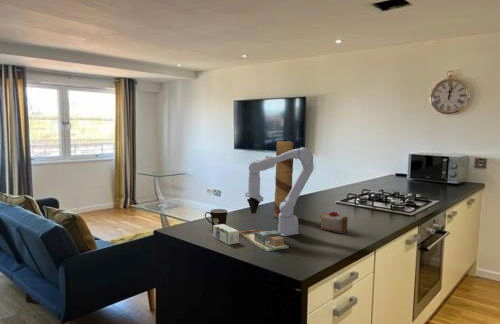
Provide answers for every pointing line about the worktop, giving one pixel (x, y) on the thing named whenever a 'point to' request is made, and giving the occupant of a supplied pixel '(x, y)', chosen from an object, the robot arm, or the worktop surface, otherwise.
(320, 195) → the worktop surface
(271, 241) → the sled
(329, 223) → the food item
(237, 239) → the syrup box
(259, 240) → the rail tunnel
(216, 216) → the coffee mug
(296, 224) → the robot arm
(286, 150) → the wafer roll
